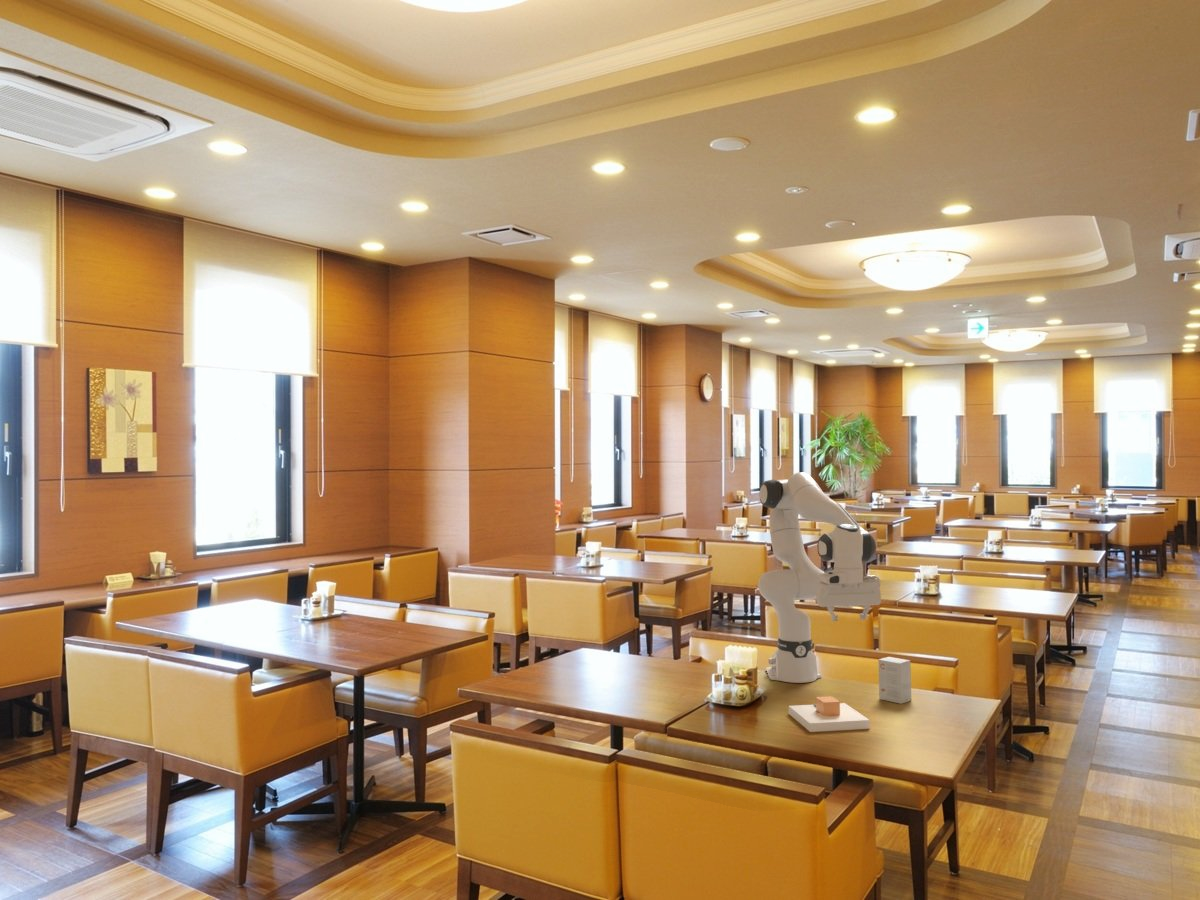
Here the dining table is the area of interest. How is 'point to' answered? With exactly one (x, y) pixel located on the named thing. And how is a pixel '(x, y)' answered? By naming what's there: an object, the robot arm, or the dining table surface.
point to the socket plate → (828, 718)
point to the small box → (894, 680)
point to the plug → (827, 706)
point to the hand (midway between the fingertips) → (848, 620)
